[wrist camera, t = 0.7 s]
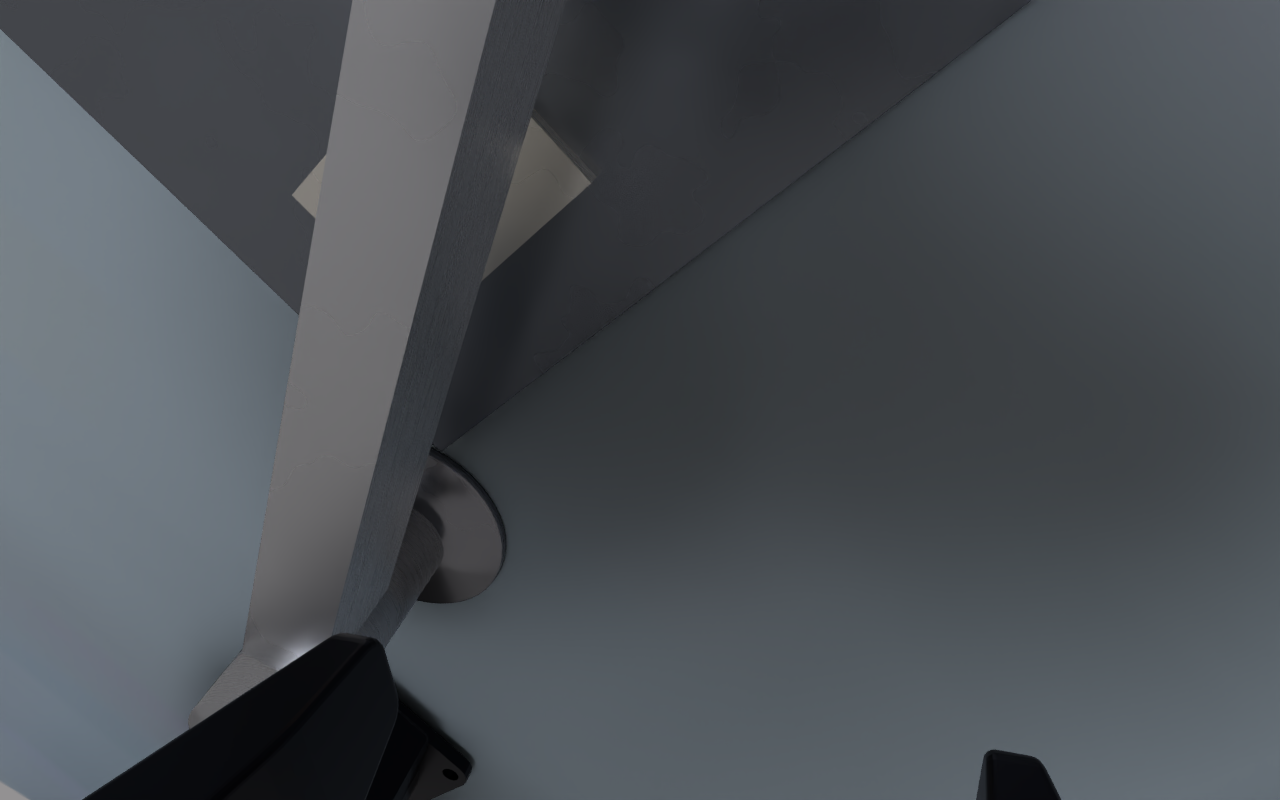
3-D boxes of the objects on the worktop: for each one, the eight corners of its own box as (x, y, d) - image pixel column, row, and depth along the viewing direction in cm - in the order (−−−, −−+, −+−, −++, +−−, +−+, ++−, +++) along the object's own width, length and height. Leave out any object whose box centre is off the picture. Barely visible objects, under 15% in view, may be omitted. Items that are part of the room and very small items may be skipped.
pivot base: (427, 620, 27) (422, 628, 27) (284, 492, 26) (277, 499, 25) (546, 547, 24) (542, 555, 24) (392, 400, 23) (385, 407, 23)
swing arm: (431, 589, 25) (292, 805, 20) (345, 546, 25) (184, 751, 20) (724, -253, 14) (566, -233, 9) (564, -329, 14) (318, -351, 9)
